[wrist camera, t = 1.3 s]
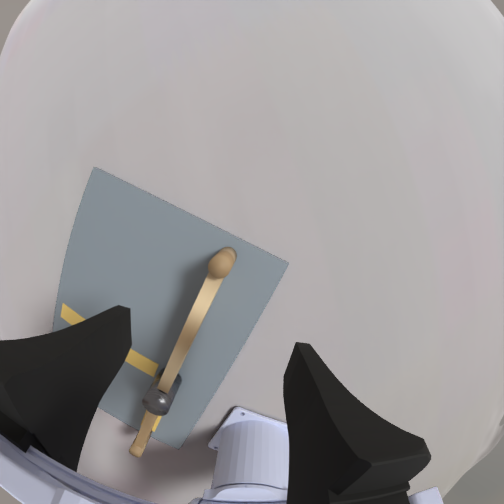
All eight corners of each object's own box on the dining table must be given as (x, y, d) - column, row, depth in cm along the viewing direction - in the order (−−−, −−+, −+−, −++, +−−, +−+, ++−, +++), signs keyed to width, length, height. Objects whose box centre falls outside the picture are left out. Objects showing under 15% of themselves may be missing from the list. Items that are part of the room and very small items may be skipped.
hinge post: (185, 375, 23) (172, 404, 19) (177, 391, 24) (164, 419, 19) (162, 363, 23) (145, 390, 19) (155, 380, 24) (139, 407, 19)
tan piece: (180, 372, 23) (167, 399, 19) (167, 365, 23) (152, 391, 19) (239, 251, 21) (234, 262, 17) (223, 243, 21) (213, 252, 17)
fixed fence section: (171, 392, 23) (158, 419, 19) (151, 435, 25) (139, 458, 21) (158, 385, 23) (143, 411, 19) (140, 429, 25) (127, 452, 21)
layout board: (288, 262, 22) (289, 264, 21) (179, 447, 26) (178, 450, 25) (96, 167, 21) (93, 166, 20) (52, 370, 25) (49, 372, 25)
